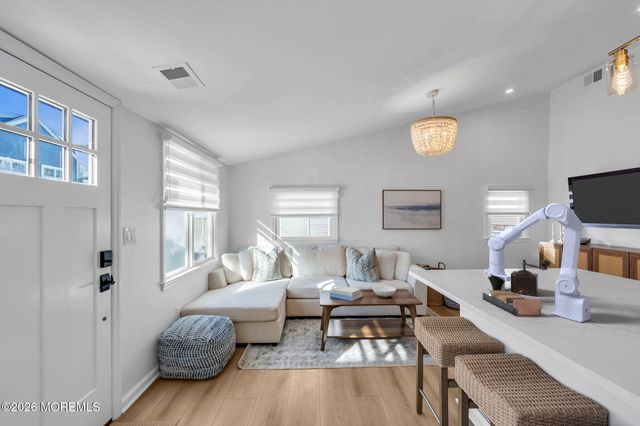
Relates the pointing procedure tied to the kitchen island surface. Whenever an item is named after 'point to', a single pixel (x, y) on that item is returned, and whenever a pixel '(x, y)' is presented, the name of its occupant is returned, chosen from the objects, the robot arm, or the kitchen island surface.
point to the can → (491, 285)
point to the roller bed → (517, 306)
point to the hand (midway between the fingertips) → (496, 293)
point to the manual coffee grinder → (527, 279)
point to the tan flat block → (506, 295)
